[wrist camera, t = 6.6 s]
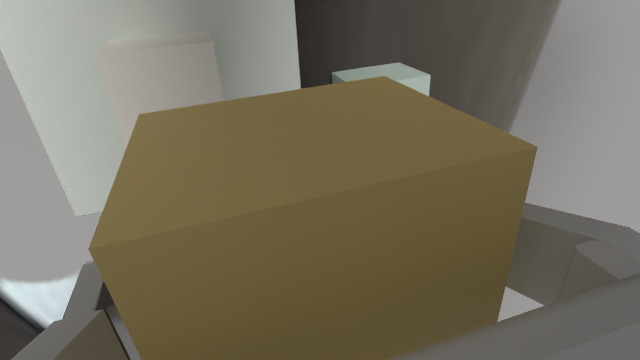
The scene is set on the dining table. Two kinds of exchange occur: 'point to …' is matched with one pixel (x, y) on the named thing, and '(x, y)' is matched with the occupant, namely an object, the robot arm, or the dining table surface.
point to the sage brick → (392, 71)
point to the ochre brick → (311, 225)
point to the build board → (81, 86)
